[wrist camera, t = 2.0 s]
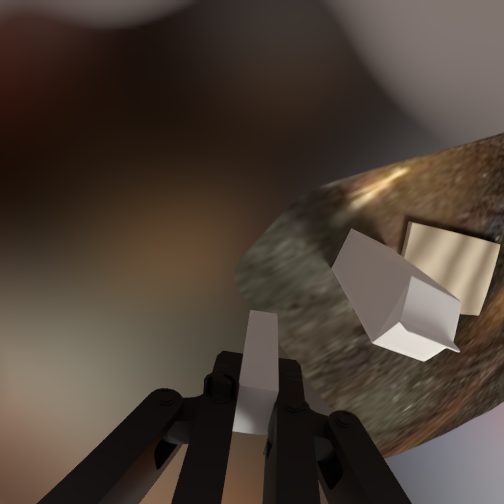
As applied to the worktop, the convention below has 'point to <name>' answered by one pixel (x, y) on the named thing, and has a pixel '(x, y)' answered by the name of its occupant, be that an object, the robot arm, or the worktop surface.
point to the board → (453, 262)
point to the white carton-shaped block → (396, 299)
